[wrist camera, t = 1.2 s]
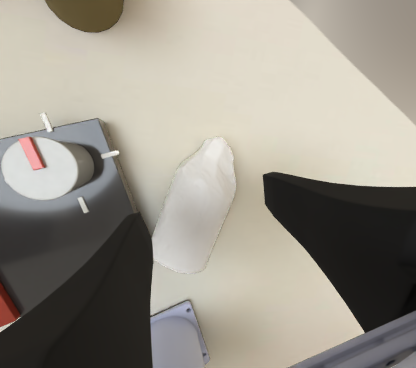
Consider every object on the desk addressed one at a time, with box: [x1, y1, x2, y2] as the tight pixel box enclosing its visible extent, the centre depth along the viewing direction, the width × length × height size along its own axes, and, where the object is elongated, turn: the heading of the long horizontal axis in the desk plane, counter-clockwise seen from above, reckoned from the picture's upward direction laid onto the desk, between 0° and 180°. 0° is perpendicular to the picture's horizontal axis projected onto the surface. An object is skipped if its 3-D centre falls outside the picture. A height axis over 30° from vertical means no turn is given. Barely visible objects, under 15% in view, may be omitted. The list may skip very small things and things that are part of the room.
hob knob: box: [1, 137, 94, 200], centre depth 13 cm, size 4×4×4 cm
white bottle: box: [151, 137, 237, 274], centre depth 18 cm, size 6×12×6 cm, turn 158°
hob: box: [0, 113, 138, 317], centre depth 15 cm, size 15×21×2 cm
